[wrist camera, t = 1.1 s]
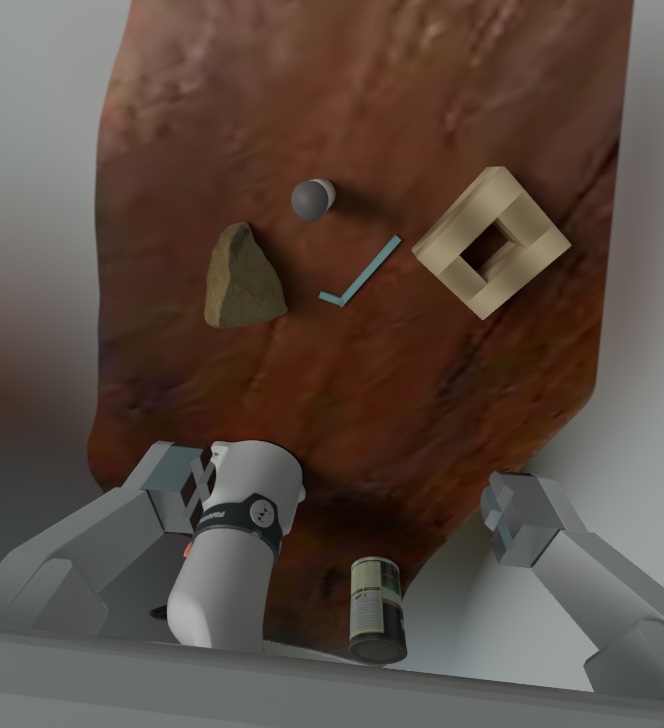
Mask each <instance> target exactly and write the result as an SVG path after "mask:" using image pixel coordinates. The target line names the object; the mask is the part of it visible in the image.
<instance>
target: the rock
mask: <svg viewBox="0 0 664 728" xmlns="http://www.w3.org/2000/svg"><path fill="white" fill-rule="evenodd" d="M281 285H282V283H281V281H280V280H279V278H278V276H277V274H276V271H275V269H274V268H273V267H272V266H271V264H270V262H269V261H267V259H266V257H265V256H264V253H263V251H262V250H261V248H260V247H259V246H258V245H257V244H256V243H255V241H254V238H253V235H252V231H251V228H250V227H249V225H248V224H247V222H241V223H236V224H232V225H229V226H228V227H226V228H225V229H224V230H223V231H222V232H221V233H220V234H219V237H218V240H217V242H216V245H215V247H214V248H213V250H212V254H211V262H210V264H209V270H208V274H207V291H206V300H205V312H204V314H205V319H206V323H207V324H209V325H210V326H212V327H214V328H220V329H224V328H231V327H239V326H247V325H251V324H254V323H258V322H263V321H270V320H272V319H274V318H276V317H277V316H281V315H282V314H285V313H287V311H288V308H287V307H286V305H285V300H284V296H283V289H282V286H281Z"/></svg>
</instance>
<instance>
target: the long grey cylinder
mask: <svg viewBox="0 0 664 728" xmlns="http://www.w3.org/2000/svg"><path fill="white" fill-rule="evenodd" d="M335 196H336V192H335V188H334V186H333V184H332V183H331V182H330V181H328V180H326V179H316V180H309V181H304V182H302V183H300V184H298V185H297V186H296V188H295V189H294V191H293V193H292V198H291V202H292V207H293V210H294V212H295V213H296V214H297V216H298V217H300V218H301V219H303V220H306V221H314V220H317V219H319V218H320V217H321V216H322V215H323V214H324V213H325V212H326V211H327V210H328V208H329V207H330V206H331V205H332V204H333V202H334V200H335Z"/></svg>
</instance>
